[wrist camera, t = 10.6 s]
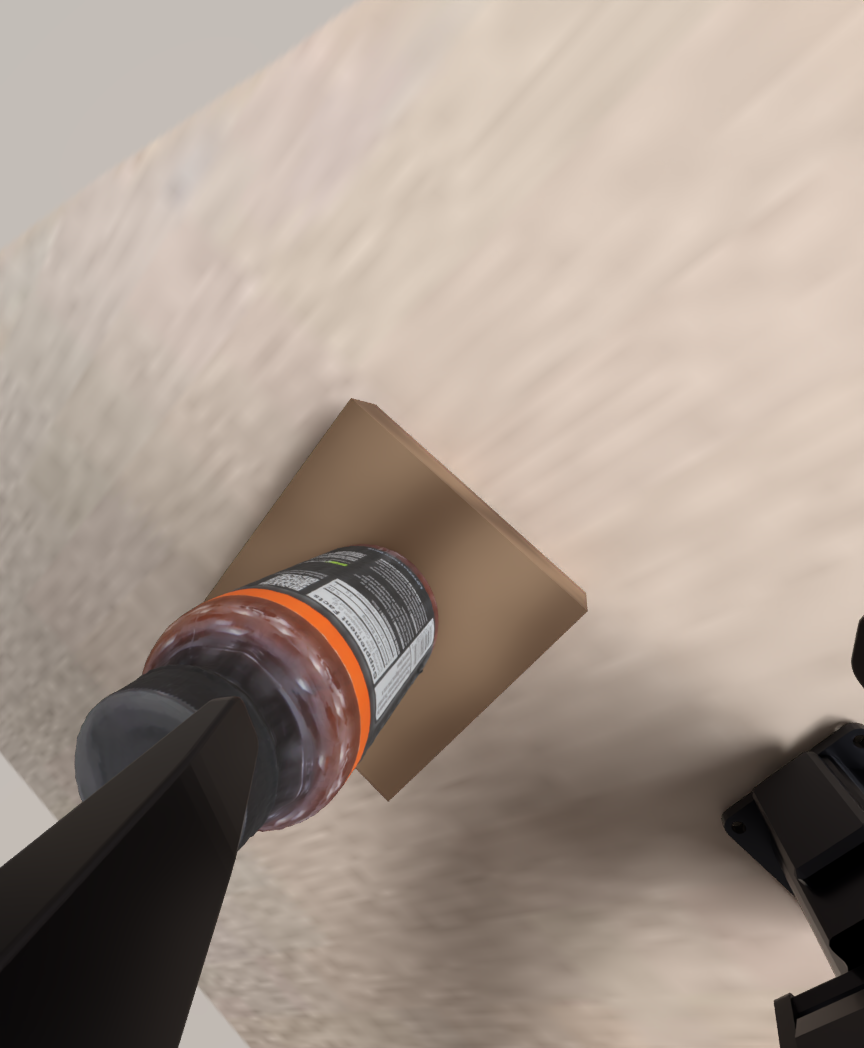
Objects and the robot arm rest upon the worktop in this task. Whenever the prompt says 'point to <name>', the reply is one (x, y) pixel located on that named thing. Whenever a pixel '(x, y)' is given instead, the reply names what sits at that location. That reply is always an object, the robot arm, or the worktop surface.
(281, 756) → the supplement bottle
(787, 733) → the worktop surface
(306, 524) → the walnut plinth
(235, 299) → the worktop surface
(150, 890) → the robot arm
